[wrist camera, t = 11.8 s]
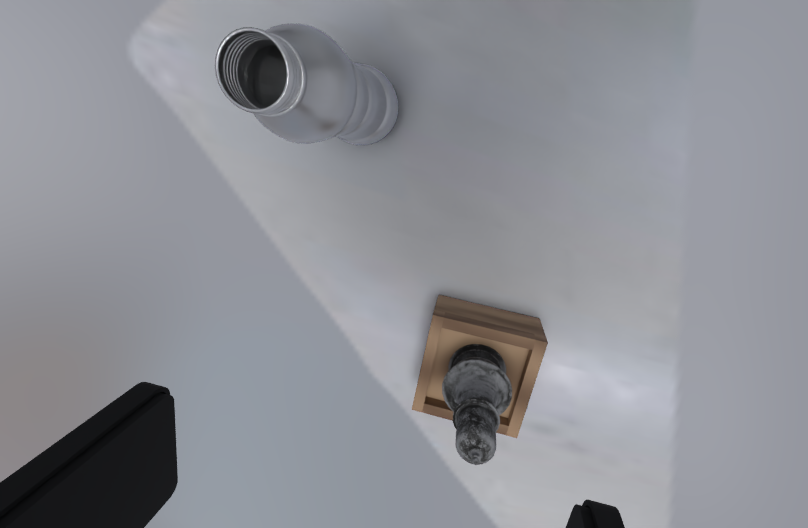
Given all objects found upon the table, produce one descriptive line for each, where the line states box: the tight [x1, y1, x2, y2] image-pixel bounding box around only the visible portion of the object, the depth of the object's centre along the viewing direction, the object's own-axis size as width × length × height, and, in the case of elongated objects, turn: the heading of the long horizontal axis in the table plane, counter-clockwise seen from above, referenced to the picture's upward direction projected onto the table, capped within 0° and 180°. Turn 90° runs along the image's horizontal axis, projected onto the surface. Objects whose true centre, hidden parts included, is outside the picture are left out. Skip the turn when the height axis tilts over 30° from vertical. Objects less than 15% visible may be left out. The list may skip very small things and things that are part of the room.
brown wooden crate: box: [412, 295, 548, 438], centre depth 40 cm, size 10×10×5 cm
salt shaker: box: [442, 344, 512, 465], centre depth 33 cm, size 6×6×12 cm
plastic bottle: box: [215, 24, 398, 145], centre depth 28 cm, size 6×7×20 cm
